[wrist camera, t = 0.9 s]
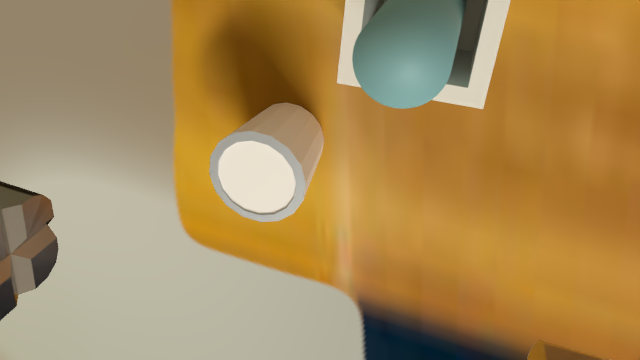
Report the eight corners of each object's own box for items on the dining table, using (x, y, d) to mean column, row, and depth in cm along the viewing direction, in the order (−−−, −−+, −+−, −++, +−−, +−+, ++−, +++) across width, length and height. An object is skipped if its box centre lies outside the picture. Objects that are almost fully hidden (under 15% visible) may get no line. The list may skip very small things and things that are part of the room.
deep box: (517, -69, 32) (523, -54, 25) (485, 65, 36) (483, 109, 29) (382, -85, 33) (353, -75, 27) (365, 45, 37) (336, 82, 31)
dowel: (474, -34, 32) (462, 18, 21) (460, 33, 34) (441, 116, 23) (407, -43, 33) (358, 2, 21) (396, 23, 35) (347, 99, 23)
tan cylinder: (261, 79, 41) (222, 114, 35) (345, 118, 40) (320, 160, 34) (237, 153, 44) (198, 196, 39) (314, 190, 44) (286, 238, 38)
